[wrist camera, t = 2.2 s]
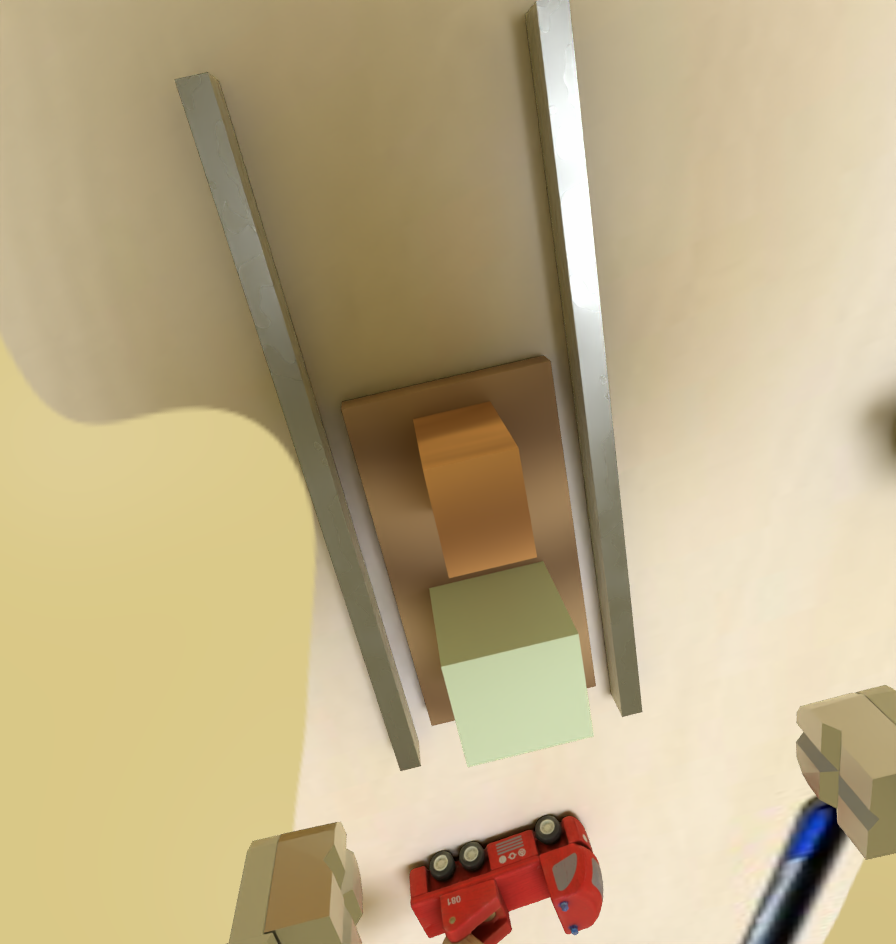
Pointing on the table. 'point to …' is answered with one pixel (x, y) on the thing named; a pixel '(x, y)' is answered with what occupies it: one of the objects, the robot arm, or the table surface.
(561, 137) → the lane guide
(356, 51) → the table surface
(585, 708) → the sage block
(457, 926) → the toy fire truck
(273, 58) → the table surface
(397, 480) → the strip
